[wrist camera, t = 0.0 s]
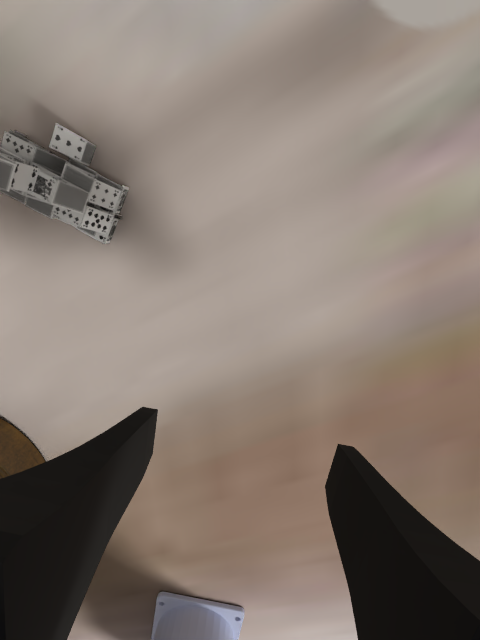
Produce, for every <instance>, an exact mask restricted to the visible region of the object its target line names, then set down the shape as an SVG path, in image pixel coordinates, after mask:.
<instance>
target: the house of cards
mask: <svg viewBox="0 0 480 640" xmlns="http://www.w3.org/2000/svg"><path fill="white" fill-rule="evenodd" d="M26 138H27V135H25V134H23V133H20V132H18V131H16V130H15V131H14V132H13V131H11V130H10V131H9V132H6V131H4V135H3V139H2V143H1V144H0V194H5V195H7V196H9V197H11V198H13V199H15V200H17V201H19V202H21V203H23V204H25V202H26V204H25V206H27V207H29V208H31V209H33V210H35V211H37V212H38V213H40V214H42V215H44V216H46V217H48V218H50V219H52V218H53V219H59V220H61V221H63V222H65V223H67V224H70V225H72V226H74V227H76V229H77V230H79V231H81V232H83V233H85V234H86V235H88V236H90V237H92V238H94V239H96V240H97V241H99V242H101V243H102V244H107V243H110V241H111V238H112V236H113V233H114V230H115V228H116V225H117V222H118V220H119V219H120V218H118V217H116V216H115V214H116V215H119V216H122V215H120V214H119V213H120V211H121V208H122V205H123V203H124V200H125V197H126V195H127V192H128V189H129V187H127V186H124V185H122V186H120V185H118V184H116V183H114V182H113V181H111V180H109V179H107V178H105V177H103V176H101V175H99V174H97V172H96V171H94V170H92V169H90V168H88V167H87V166H90V163H91V160H92V157H93V154H94V151H95V148H96V145H94V144H92V143H90V142H89V141H88V140H86V139H85V138H83V137H81V136H79V135H77V134H76V133H74V132H72V131H70V130H68V129H67V128H65V127H63V126H61V125H59V124H58V123H57V122H56V125H55V128H54V131H53V135H52V138H51V141H50V145H49V148H51V149H53V150H55V151H57V152H59V153H62V154H63V155H65V156H67V157H69V161H66V160H64V159H62V158H60V157H58V156H57V155H55V154H53V152H52V154H51V153H49V152H51V151H49V150H47V149H45V148H43V147H41V146H39V145H37V144H36V143H34V142H32V141H30V140H28V139H26ZM81 163H82V164H81ZM83 164H85V165H87V166H85V165H83ZM96 174H97V176H96ZM120 220H121V219H120Z"/></svg>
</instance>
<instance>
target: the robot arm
mask: <svg viewBox="0 0 480 640" xmlns="http://www.w3.org/2000/svg"><path fill="white" fill-rule="evenodd" d="M157 412H158V410H157V409H152V408H146V407H142V408H140V409H139V410H137V411H136V412H134V413H133V414H131V415H130V416H128V417H127V418H125V419H124V420H122V421H121V422H119V423H118V424H116V425H114V426H113V427H111V428H110V429H108V430H107V431H105V432H104V433H102V434H100V435H98V436H97V437H95V438H93V439H91V440H90V441H88V442H86V443H85V444H83V445H81V446H79V447H77V448H75V449H73V450H71V451H69V452H67V453H65V454H63V455H61V456H58V457H56V458H54V459H52V460H49V461H47V462H44V463H42V464H39V465H37V466H34V467H32V468H29V469H27V470H24V471H22V472H19V473H16V474H13V475H10V476H7V477H4V478H1V479H0V640H67V638H68V635H69V633H70V630H71V628H72V626H73V623H74V621H75V618H76V616H77V613H78V611H79V609H80V606H81V604H82V601H83V599H84V597H85V594H86V592H87V590H88V587H89V585H90V582H91V580H92V578H93V575H94V573H95V571H96V569H97V566H98V564H99V562H100V559H101V557H102V555H103V553H104V550H105V548H106V546H107V544H108V542H109V540H110V538H111V536H112V534H113V532H114V530H115V528H116V526H117V525H118V523H119V521H120V519H121V517H122V515H123V514H124V512H125V510H126V508H127V506H128V504H129V503H130V501H131V499H132V497H133V495H134V493H135V492H136V490H137V488H138V486H139V484H140V482H141V480H142V478H143V476H144V474H145V471H146V469H147V466H148V464H149V461H150V459H151V456H152V454H153V446H154V438H155V429H156V421H157ZM325 489H326V497H327V504H328V511H329V516H330V520H331V524H332V527H333V531H334V535H335V539H336V542H337V546H338V550H339V553H340V557H341V561H342V564H343V568H344V572H345V575H346V579H347V583H348V588H349V592H350V596H351V602H352V607H353V613H354V618H355V624H356V630H357V636H358V640H480V561H479V560H478V559H476V558H475V557H474V556H472V555H471V554H470V553H468V552H467V551H465V550H464V549H463V548H461V547H460V546H459V545H457V544H456V543H455V542H454V541H452V540H451V539H450V538H449V537H447V536H446V535H445V534H444V533H442V532H441V531H440V530H439V529H438V528H436V527H435V526H434V525H433V524H432V523H430V522H429V521H428V520H427V519H426V518H425V517H424V516H422V515H421V514H420V513H419V512H418V511H417V510H416V509H415V508H414V507H413V506H412V505H411V504H409V503H408V502H407V501H406V500H405V499H404V498H403V497H402V496H401V495H400V494H399V493H398V492H397V491H396V490H395V489H394V488H393V487H392V486H391V485H390V484H389V483H388V482H387V481H386V480H385V479H384V478H383V477H382V476H381V475H380V474H379V473H378V471H377V470H376V469H375V468H374V467H373V466H372V465H371V464H370V463H369V462H368V461H367V460H366V459H365V458H364V457H363V456H362V455H361V454H360V453H359V452H358V451H357V450H356V449H355V448H354V447H351V446H346V445H341V444H338V446H337V449H336V452H335V456H334V459H333V462H332V465H331V469H330V472H329V475H328V479H327V482H326V485H325ZM243 618H244V609H243V608H242V607H239V606H234V605H229V604H224V603H219V602H214V601H209V600H204V599H199V598H194V597H189V596H184V595H179V594H174V593H169V592H160V593H158V596H157V601H156V608H155V615H154V622H153V629H152V636H151V640H238V638H239V634H240V630H241V626H242V622H243Z"/></svg>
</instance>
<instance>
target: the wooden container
mask: <svg viewBox="0 0 480 640" xmlns="http://www.w3.org/2000/svg"><path fill="white" fill-rule="evenodd" d="M44 462H45V460H44V458H43V457H42V455H41V454H40V453H39V451H38V450H37V449H36V448H35V446H34V445H33V444H32V443H31V442H30V441H29V439H28V438H27V437H25V436H24V435H23V434H22V433H21V432H20V431H19V430H17V429H16V428H15V427H13V426H12V425H11V424H9V423H8V422H6V421H4V420H3V419H1V418H0V479H1V478H4V477H7V476H10V475H13V474H16V473H19V472H22V471H24V470H27V469H29V468H32V467H34V466H37V465H39V464H42V463H44Z"/></svg>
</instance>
